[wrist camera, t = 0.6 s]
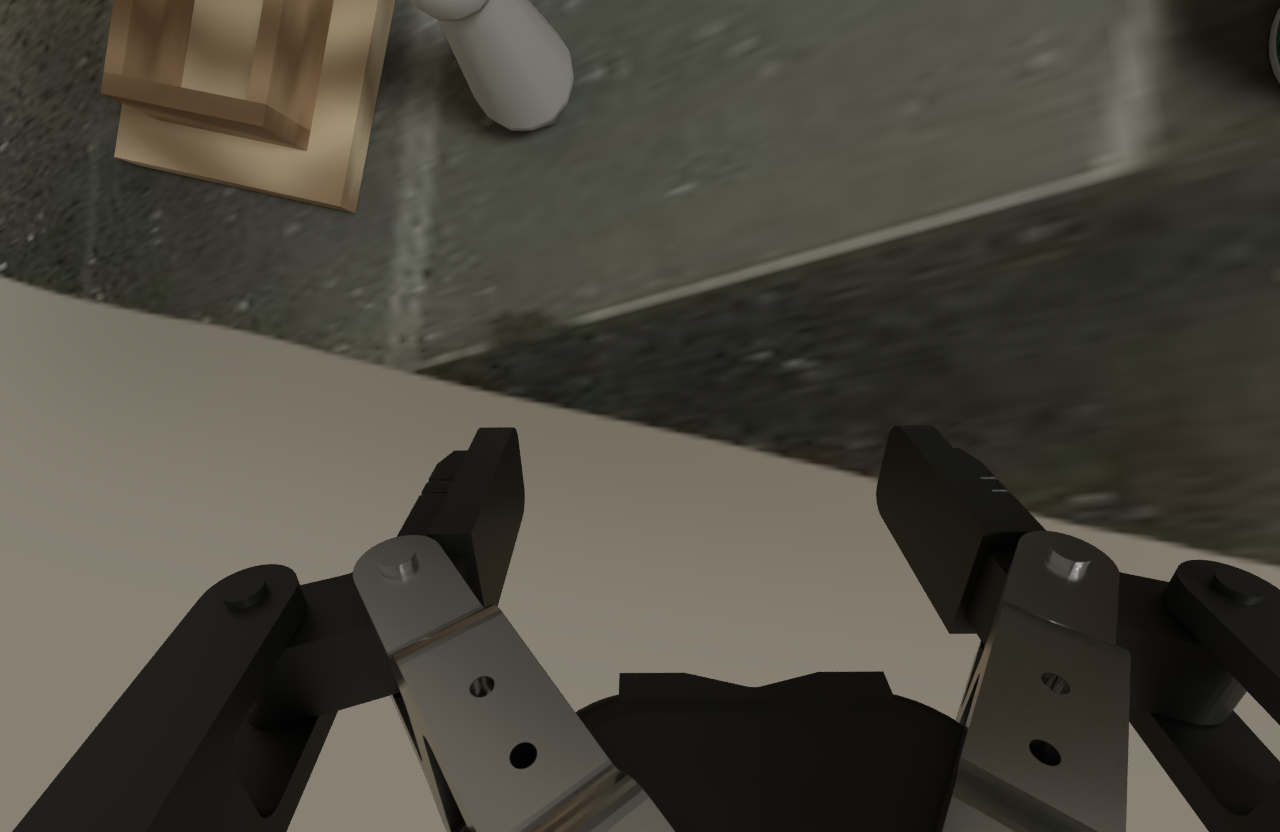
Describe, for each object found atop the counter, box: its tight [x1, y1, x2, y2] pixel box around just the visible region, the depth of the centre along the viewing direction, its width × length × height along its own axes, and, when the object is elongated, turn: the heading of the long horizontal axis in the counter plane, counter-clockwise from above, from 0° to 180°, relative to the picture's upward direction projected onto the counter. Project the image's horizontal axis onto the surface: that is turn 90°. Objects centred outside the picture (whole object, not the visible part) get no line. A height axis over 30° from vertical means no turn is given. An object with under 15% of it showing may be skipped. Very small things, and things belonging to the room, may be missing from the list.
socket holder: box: [101, 0, 395, 213], centre depth 35 cm, size 16×16×5 cm
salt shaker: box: [410, 0, 574, 131], centre depth 29 cm, size 6×6×13 cm
